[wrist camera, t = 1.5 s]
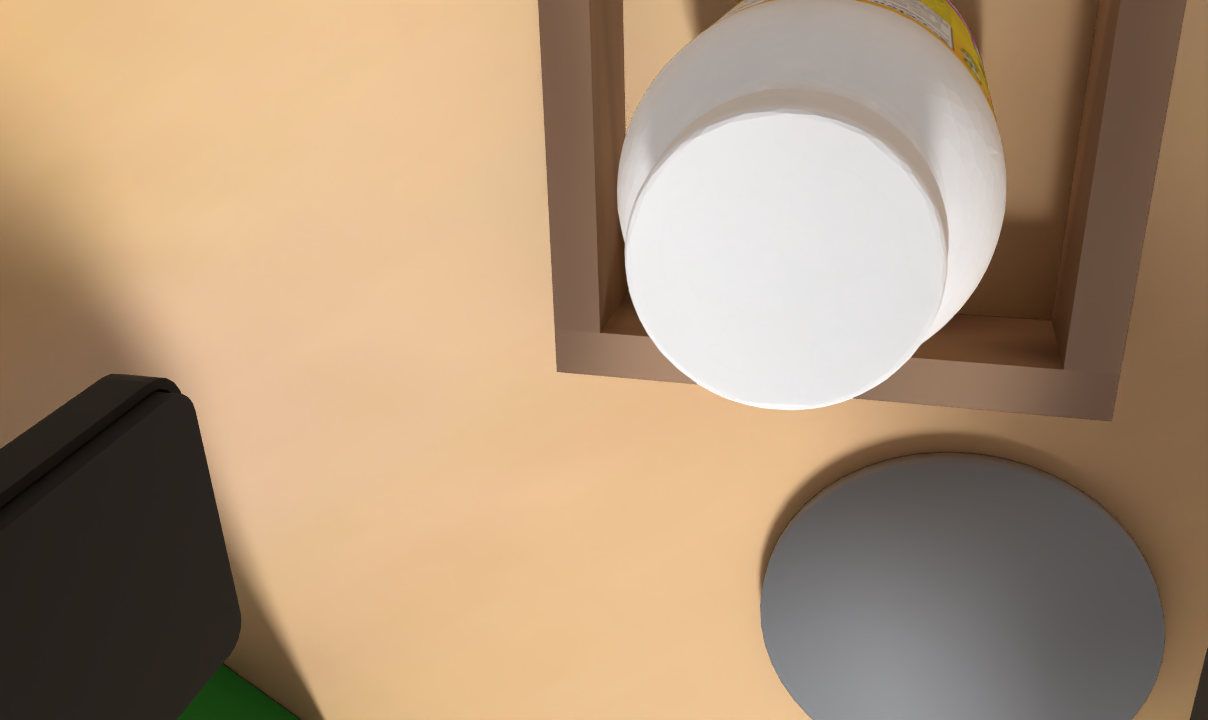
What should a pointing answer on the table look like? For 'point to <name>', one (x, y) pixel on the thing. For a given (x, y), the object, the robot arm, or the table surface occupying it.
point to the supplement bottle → (810, 195)
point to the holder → (966, 342)
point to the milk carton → (233, 701)
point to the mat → (960, 598)
